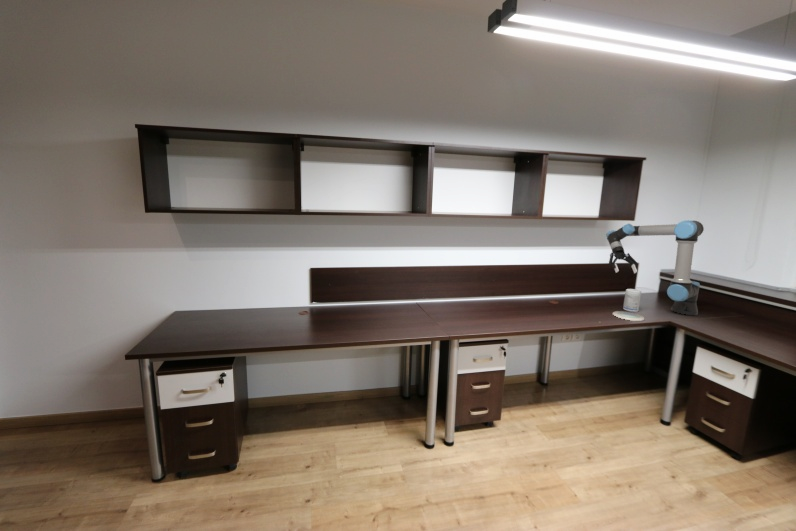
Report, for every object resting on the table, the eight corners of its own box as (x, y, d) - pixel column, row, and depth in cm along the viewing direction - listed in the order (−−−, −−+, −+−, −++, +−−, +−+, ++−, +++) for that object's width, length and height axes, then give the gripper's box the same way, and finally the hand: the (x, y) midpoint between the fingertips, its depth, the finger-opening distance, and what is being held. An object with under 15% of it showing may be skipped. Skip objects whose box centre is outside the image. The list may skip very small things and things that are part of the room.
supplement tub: (625, 307, 270) (628, 287, 267) (640, 310, 263) (643, 290, 260) (620, 309, 264) (623, 289, 261) (635, 313, 257) (638, 292, 254)
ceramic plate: (625, 312, 259) (625, 310, 258) (650, 320, 242) (650, 318, 242) (606, 314, 252) (606, 312, 252) (631, 322, 236) (631, 320, 235)
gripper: (630, 252, 284) (640, 275, 273) (598, 251, 284) (607, 274, 272) (636, 246, 278) (646, 269, 266) (603, 245, 277) (612, 268, 266)
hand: (626, 272), depth 269 cm, fingers open, 13 cm apart
